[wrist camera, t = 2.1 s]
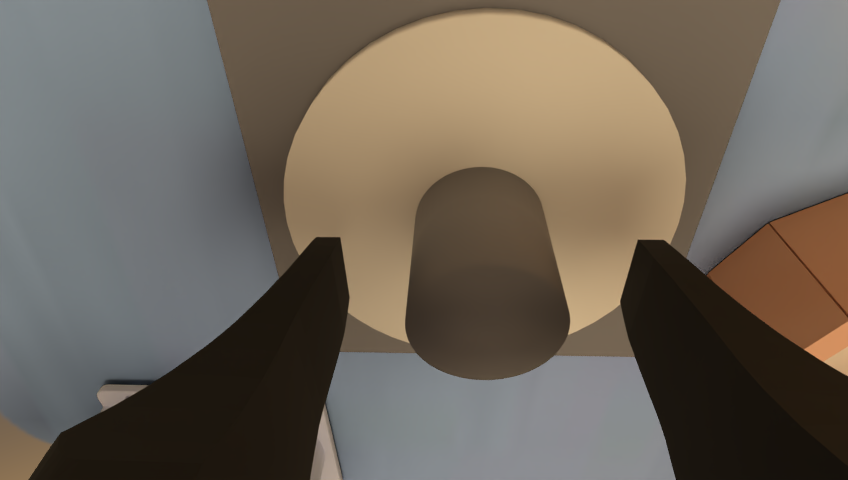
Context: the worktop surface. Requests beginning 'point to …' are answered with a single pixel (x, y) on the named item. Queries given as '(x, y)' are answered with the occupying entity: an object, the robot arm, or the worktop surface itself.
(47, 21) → the worktop surface
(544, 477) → the worktop surface
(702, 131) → the mat
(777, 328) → the bowl
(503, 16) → the lid
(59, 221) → the worktop surface
